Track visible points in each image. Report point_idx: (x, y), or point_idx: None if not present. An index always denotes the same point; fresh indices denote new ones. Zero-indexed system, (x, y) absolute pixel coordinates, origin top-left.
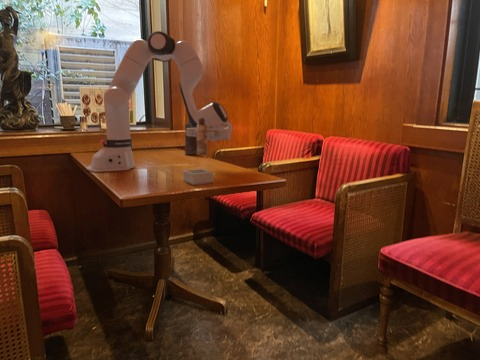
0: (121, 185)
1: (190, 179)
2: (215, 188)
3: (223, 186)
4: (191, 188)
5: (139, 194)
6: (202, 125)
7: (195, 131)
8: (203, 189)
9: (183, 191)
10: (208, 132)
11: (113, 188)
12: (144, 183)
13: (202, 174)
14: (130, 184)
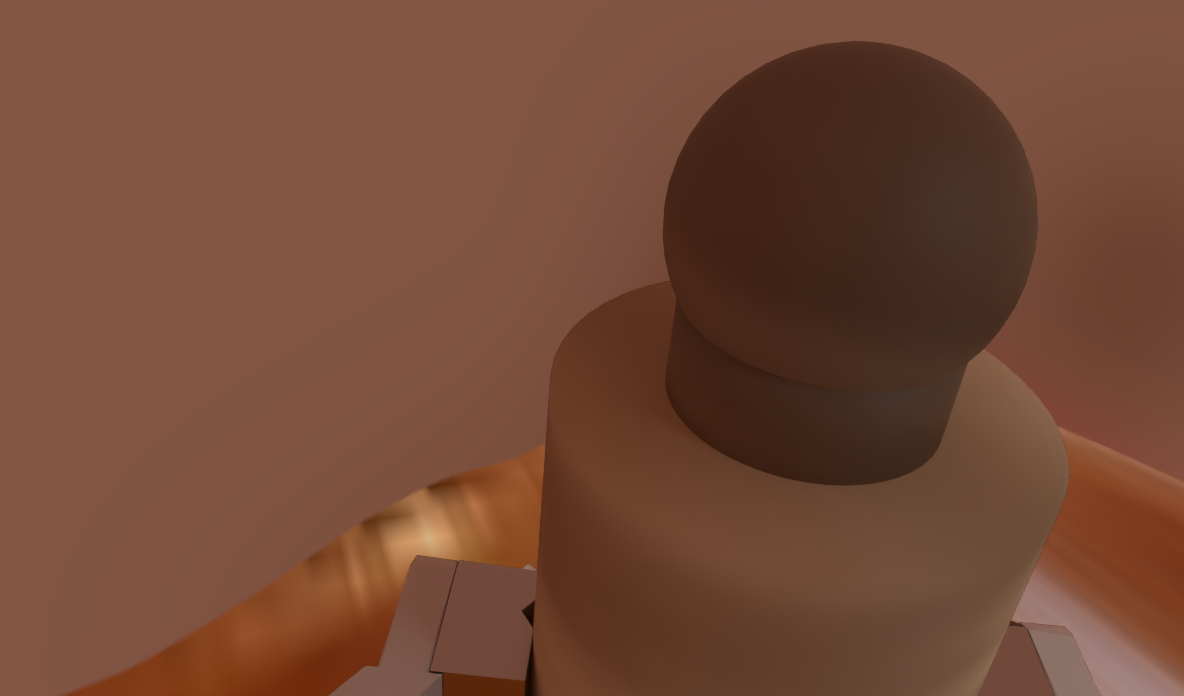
0: (1137, 524)
1: None
2: (250, 599)
3: (153, 691)
4: (497, 555)
5: None
6: (668, 297)
7: (1057, 686)
8: (371, 547)
9: (530, 470)
10: (432, 560)
11: (1088, 450)
12: (1042, 620)
13: None
14: (1111, 564)
